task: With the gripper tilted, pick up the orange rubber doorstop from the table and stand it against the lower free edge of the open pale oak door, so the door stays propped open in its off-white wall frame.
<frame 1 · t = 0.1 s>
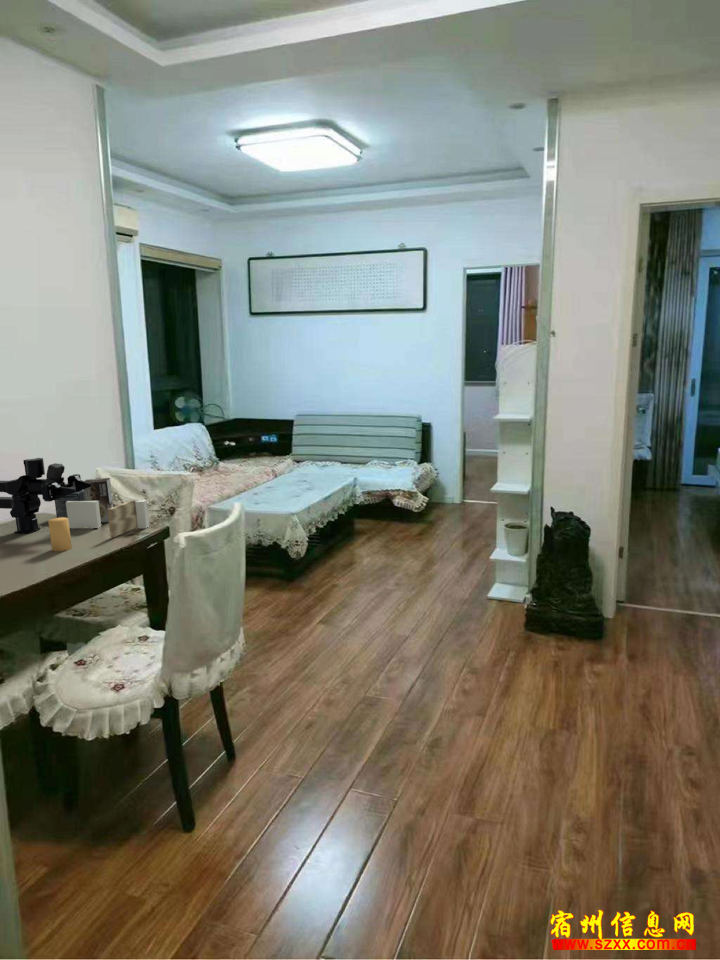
hand: (83, 487, 237), 17 cm above the table, tool horizontal, fingers open, 9 cm apart
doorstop: (62, 548, 222), on the table
wall frame: (136, 527, 245), on the table
coffee box: (101, 521, 257), on the table
door: (123, 518, 238), point 5 cm above the table, hinge at 80.0°
small box: (73, 518, 264), on the table
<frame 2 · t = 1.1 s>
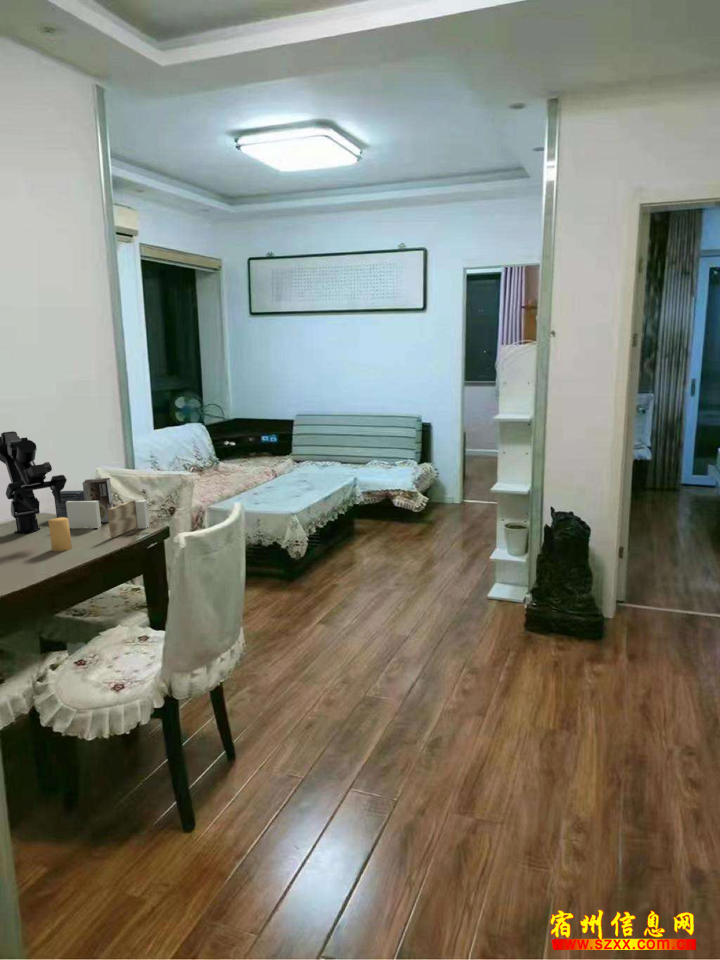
hand: (46, 505, 224), 14 cm above the table, tool tilted 45°, fingers open, 9 cm apart
nothing on the table moved.
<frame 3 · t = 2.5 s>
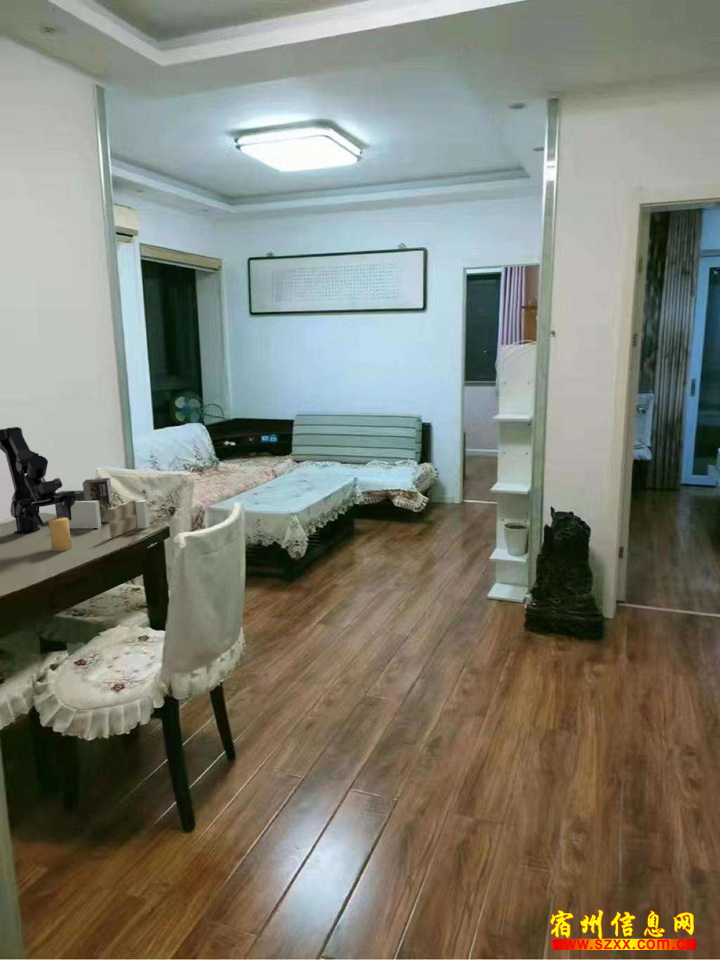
hand: (57, 522, 221), 9 cm above the table, tool tilted 45°, fingers open, 9 cm apart
nothing on the table moved.
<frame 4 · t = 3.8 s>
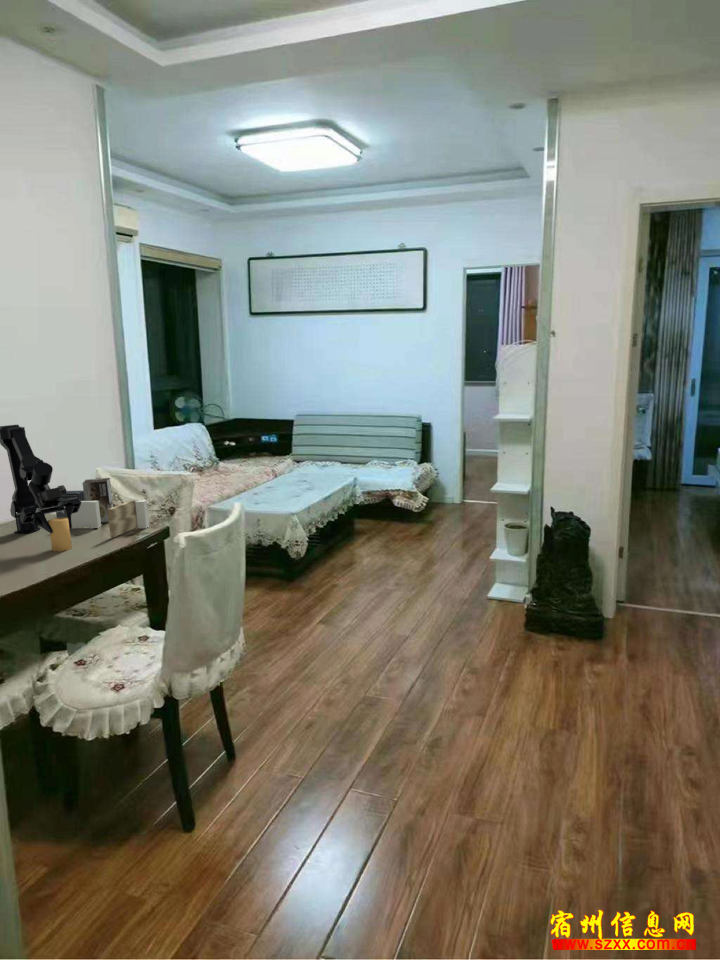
hand: (61, 530, 220), 7 cm above the table, tool tilted 45°, fingers closed on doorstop, 6 cm apart
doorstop: (62, 548, 222), on the table, touching gripper
everything else where it was.
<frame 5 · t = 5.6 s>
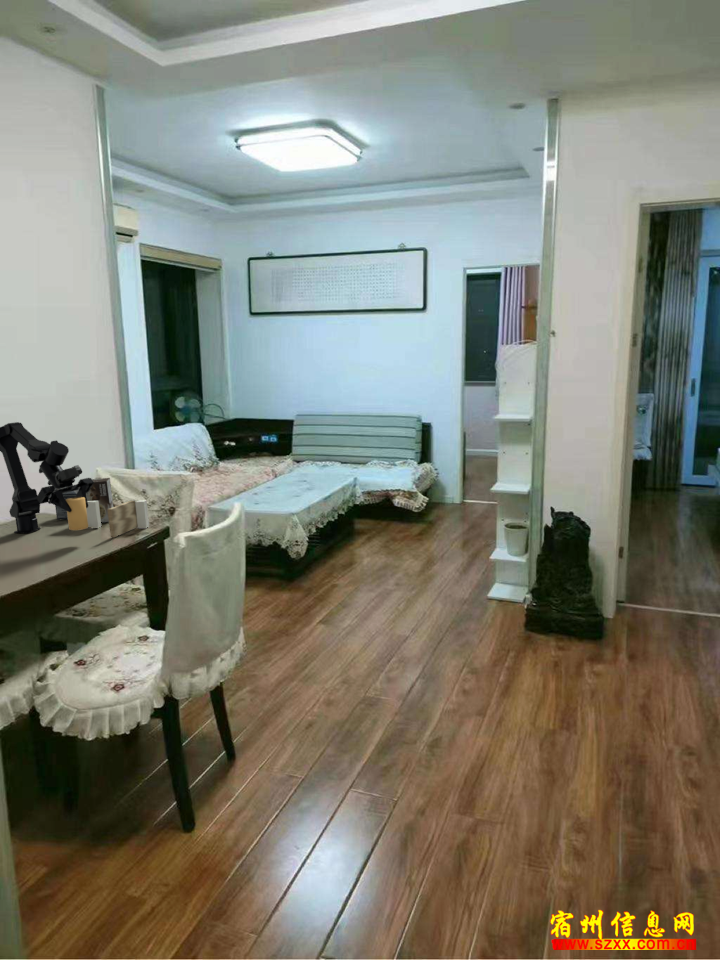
hand: (79, 509, 224), 12 cm above the table, tool tilted 45°, fingers closed on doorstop, 6 cm apart
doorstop: (78, 527, 226), point 6 cm above the table, touching gripper
everything else where it was.
when the fingers open (8 cm above the table, at t = 7.7 s): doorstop drops 1 cm, on the table.
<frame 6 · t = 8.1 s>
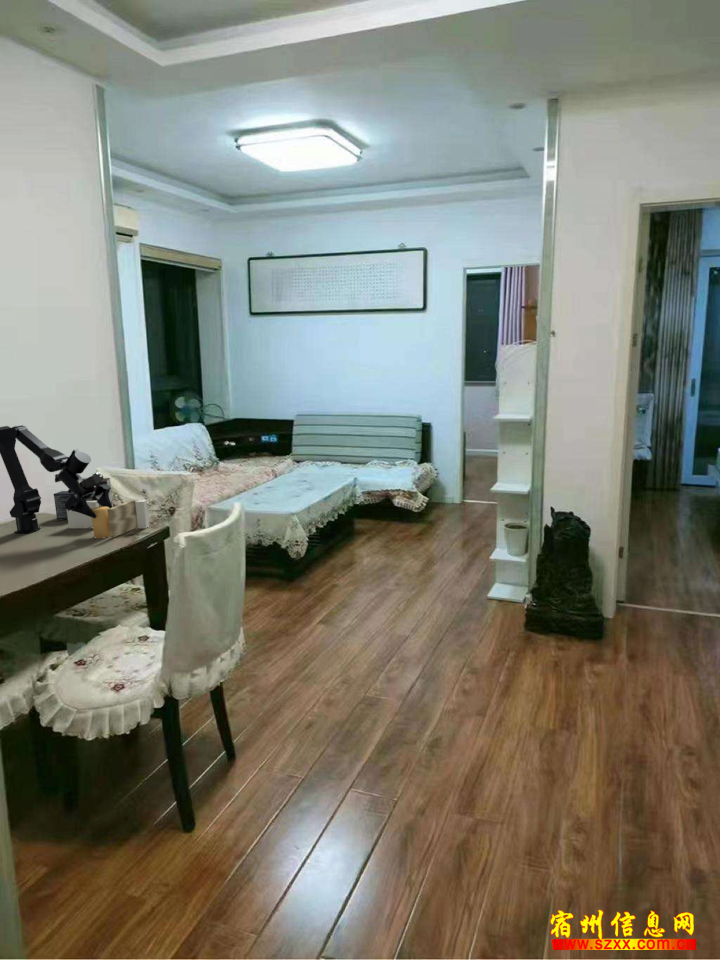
hand: (104, 514, 234), 8 cm above the table, tool tilted 45°, fingers open, 9 cm apart
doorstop: (103, 536, 236), on the table
everything else where it was.
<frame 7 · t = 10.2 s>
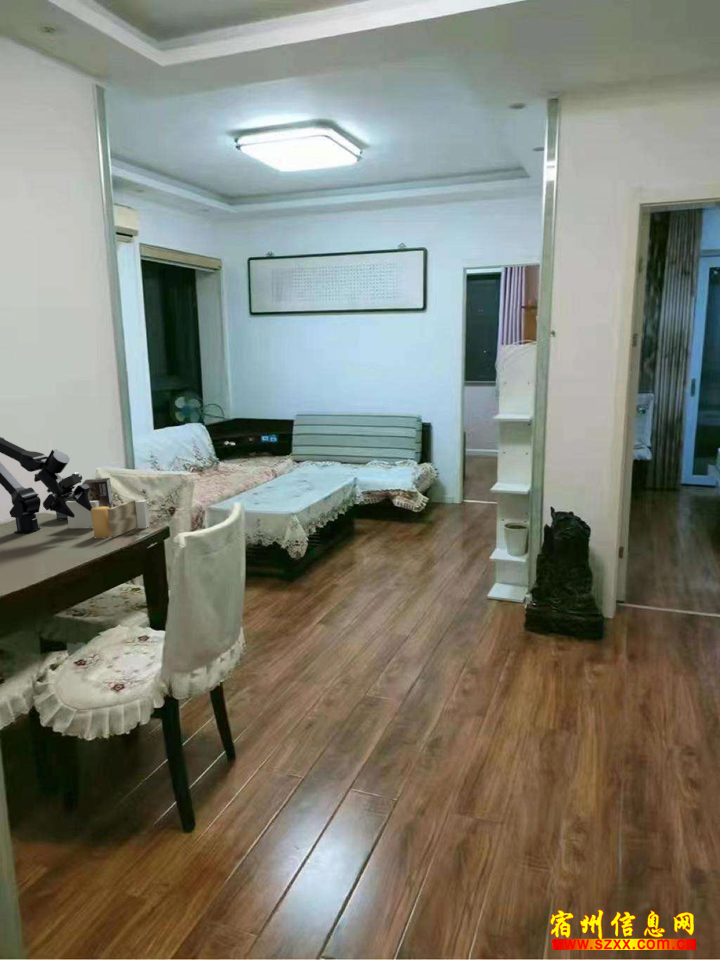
hand: (83, 513, 236), 8 cm above the table, tool tilted 45°, fingers open, 9 cm apart
nothing on the table moved.
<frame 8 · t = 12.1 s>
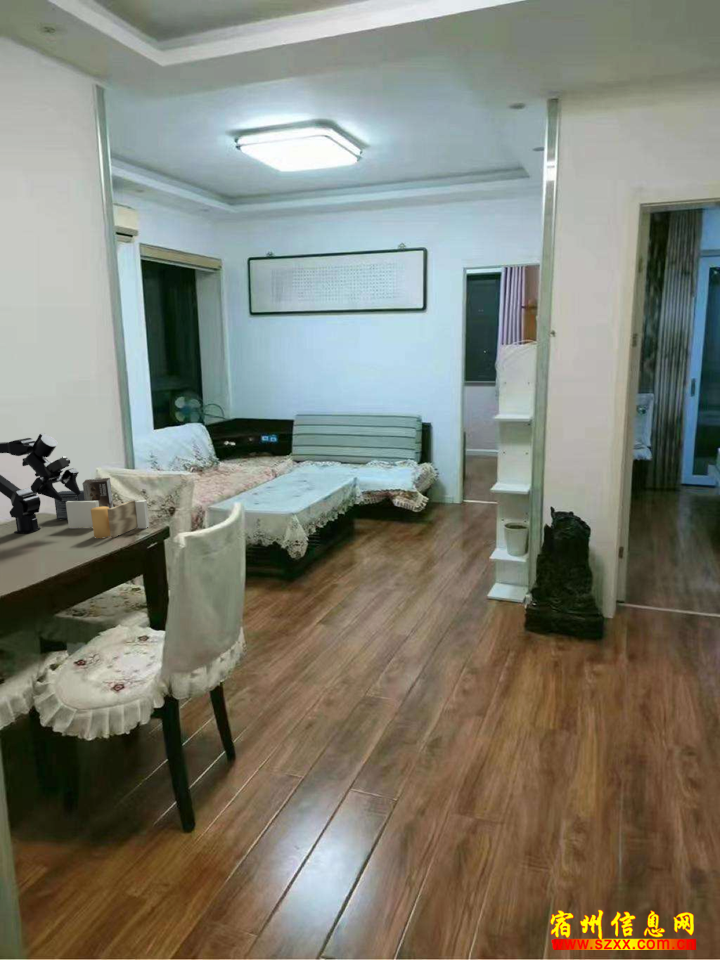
hand: (71, 497, 237), 14 cm above the table, tool tilted 45°, fingers open, 9 cm apart
nothing on the table moved.
at the end: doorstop 0.2 cm from the target spot, on the table; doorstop tilted 0°; door at +80° (first picture: +80°) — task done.
